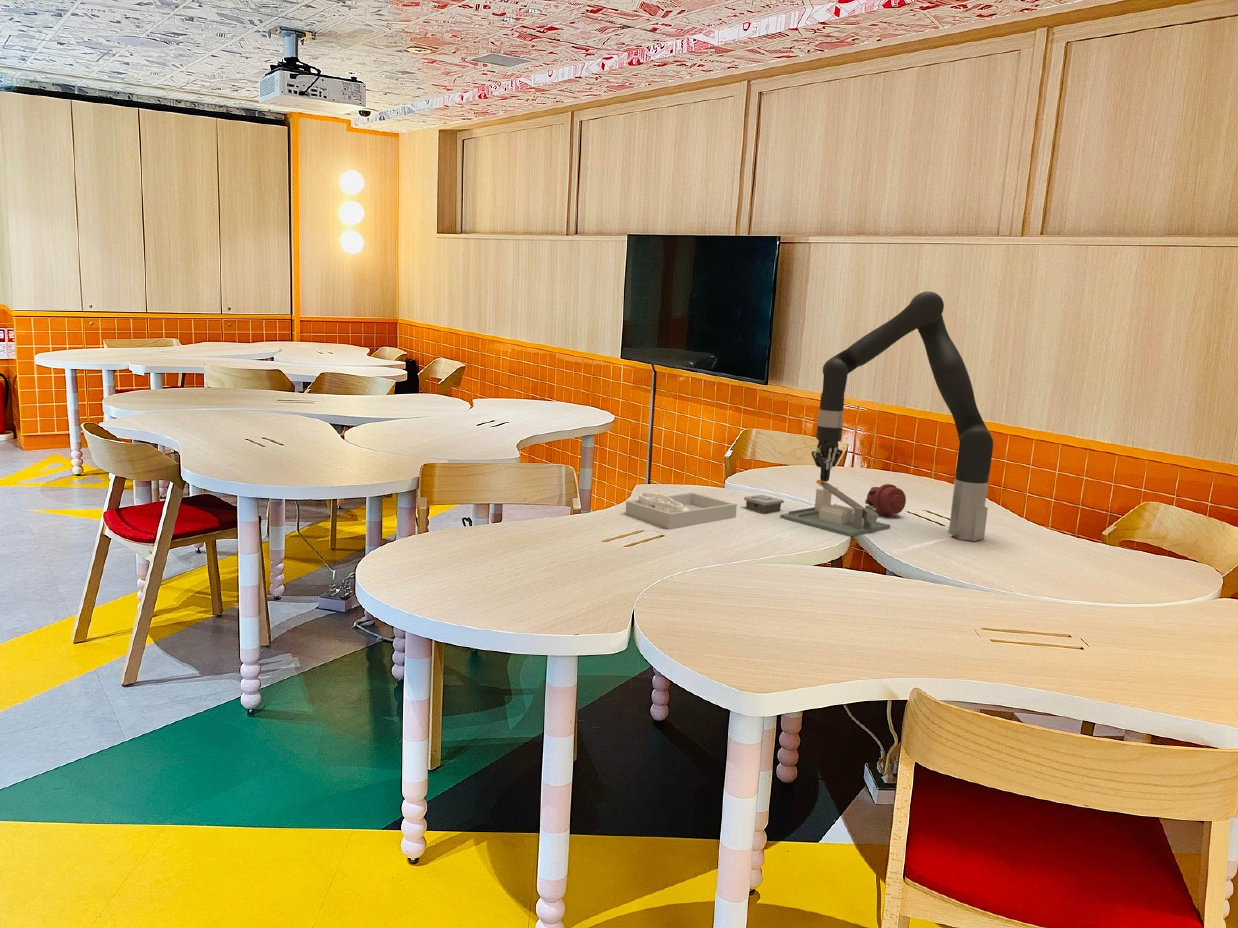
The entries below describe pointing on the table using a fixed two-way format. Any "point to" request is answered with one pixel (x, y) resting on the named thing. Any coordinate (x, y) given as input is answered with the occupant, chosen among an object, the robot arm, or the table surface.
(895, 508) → the mechanical component
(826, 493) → the cream block
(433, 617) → the table surface
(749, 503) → the electrical switch
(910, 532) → the table surface
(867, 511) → the lever
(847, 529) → the board
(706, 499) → the tray
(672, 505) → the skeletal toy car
